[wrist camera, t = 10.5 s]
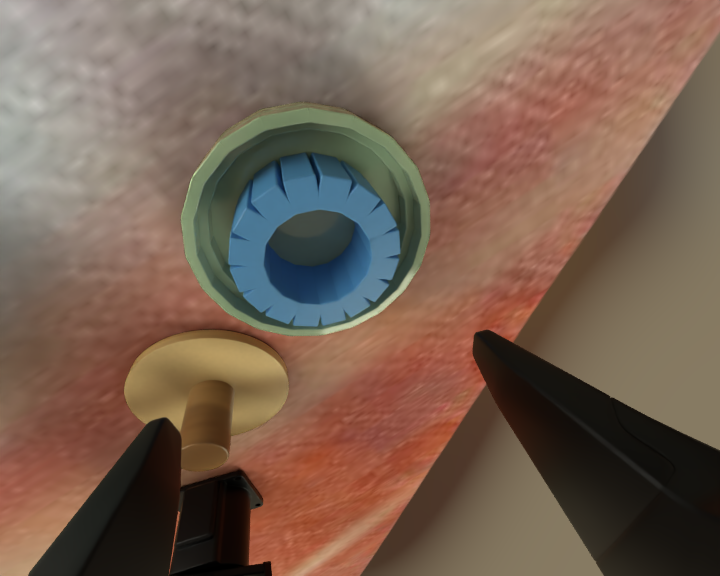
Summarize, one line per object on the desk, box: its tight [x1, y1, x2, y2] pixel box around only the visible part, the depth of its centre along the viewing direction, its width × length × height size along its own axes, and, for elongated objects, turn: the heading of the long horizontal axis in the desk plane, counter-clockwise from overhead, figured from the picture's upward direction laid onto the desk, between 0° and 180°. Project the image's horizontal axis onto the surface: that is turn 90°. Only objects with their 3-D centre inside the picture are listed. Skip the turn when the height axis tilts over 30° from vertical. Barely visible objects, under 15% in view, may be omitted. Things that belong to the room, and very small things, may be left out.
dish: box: [181, 102, 430, 336], centre depth 17 cm, size 11×11×3 cm
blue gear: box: [228, 152, 401, 327], centre depth 16 cm, size 7×7×4 cm
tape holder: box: [124, 330, 289, 472], centre depth 21 cm, size 10×10×5 cm
